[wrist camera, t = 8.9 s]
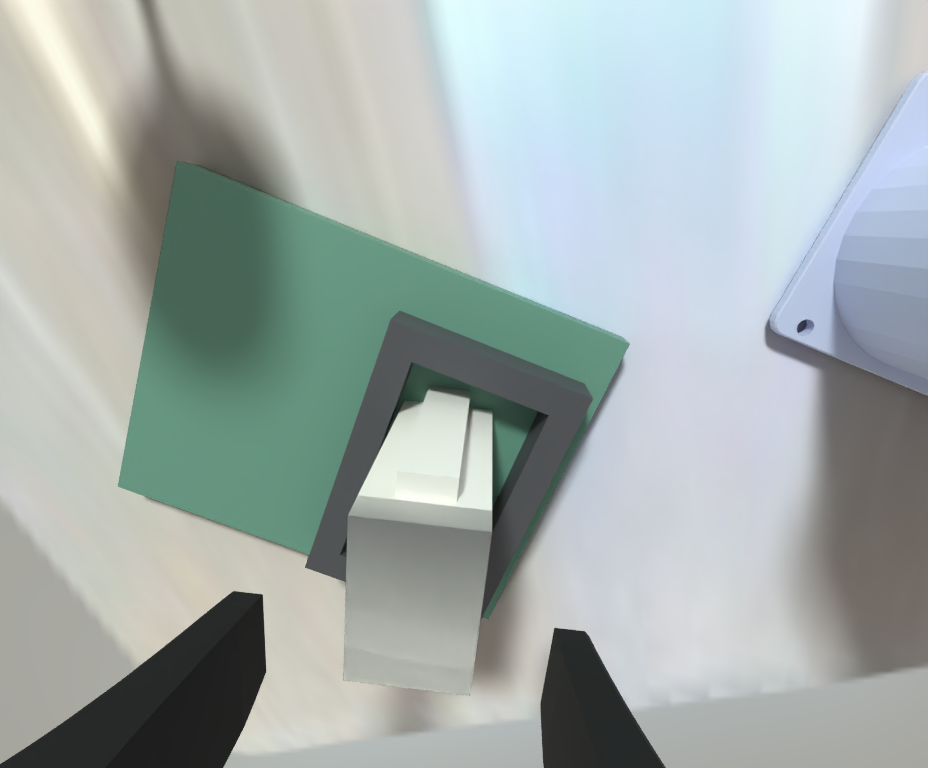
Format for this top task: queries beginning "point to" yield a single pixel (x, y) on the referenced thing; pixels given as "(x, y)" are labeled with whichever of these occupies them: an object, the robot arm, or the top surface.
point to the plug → (421, 549)
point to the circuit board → (337, 372)
